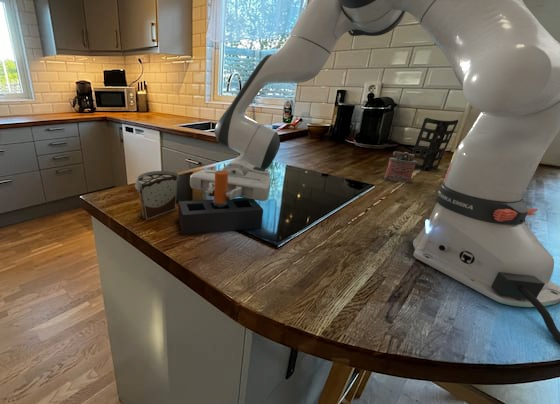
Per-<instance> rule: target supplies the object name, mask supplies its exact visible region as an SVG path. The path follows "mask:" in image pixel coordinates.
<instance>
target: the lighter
mask: <svg viewBox="0 0 560 404" xmlns="http://www.w3.org/2000/svg"><path fill="white" fill-rule="evenodd" d="M393 156H396V157H393ZM416 163H418V161H417V160H415V158H414V154H412V153H409V152H407V151H405V152H401V151H393V154H392V157H389V158H388V164H387V168H386V171H385V175H384V177H383V178H384V179H385V180H389V181H395V182H399V183H411V182H412V177H413V173H414V171H415V168H416V167H415V164H416Z"/></svg>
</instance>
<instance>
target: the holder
mask: <svg viewBox="0 0 560 404" xmlns="http://www.w3.org/2000/svg"><path fill="white" fill-rule="evenodd" d="M458 123H459V119H454V120H441V119H434V118H430V117H425V118H424V119H423V122H422V125H421V127H420V130H419V133H418V136H417V137H416V138H417V139H416V141H415V144H414V147H413V149H412V152H411V154H414V158H413V159H419V160H422V162H421V163H420V162H417V163H416V164H415V167H414V168H416V169H421V171H428V172H429V171H431V170H436V169H439V165H440V163H441V161H442V159H443V156H444V154H445V151H446V149H447V147H448V145H449V144H450V140H452V139H451V138H452V136H453V134H454V132H455V130H456V127H457V125H458ZM427 124H432V125H435V128H434V129H431V128H426V127H427ZM449 126H453V127H452V129H451V130H448V128H449ZM424 133H426V135H425V137H423V134H424ZM431 134H432V136H431ZM430 137H431V138H430ZM421 141H422V142H424V143H429V144H428V146H427V147H425V146H421V145H420V143H421ZM443 144H445V145H444V146H443V147H442V148H441V146H442V145H443ZM417 150H419V154H416V153H417ZM424 153H425V155H424ZM436 161H437V163H436V164H434V163H435V162H436Z"/></svg>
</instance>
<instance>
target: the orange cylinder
mask: <svg viewBox="0 0 560 404" xmlns="http://www.w3.org/2000/svg"><path fill="white" fill-rule="evenodd" d="M214 171H215V183H214V197H213V200H214V208H213V209H226V202H227V199H225V197H226V192H227V185H228V172H227V171H223V170H222V169H219V170H214Z"/></svg>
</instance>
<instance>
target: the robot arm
mask: <svg viewBox="0 0 560 404" xmlns="http://www.w3.org/2000/svg"><path fill="white" fill-rule="evenodd" d="M307 3H308V4H306V6H305V7H304V9H303V10H302V12H301V14H300V15H299V17H298V18H297V20H296V22H295V23H294V25H293V27H292V29H291V31H290V32H289V35H288V37H287V39H286V41H285V42H284V44H283V45H282V46H281V47H280V48H278V50H277V51H275V52H274V53H273V54H272V53H271V54H267V55H265V56H264V57H263V58H262V59H261V60H260V61H259V63H258V64H257V65H256V66H255V68H254V69H253V71H252V73H250V75H249V77H248V78H247V79H246V81H245V83H244V84H243V86H242V87H241V89H240V90H239V91H238V93H237V95H236V96H235V97H234V99H233V100H232V102H231V104H230V105H229V107H227V109H226V110H225V111H224V112H223V114H222V115H221V117H220V118H219V119H218V120H217V123H216V125H215V127H214V131H213V133H214V136H215V139H216V141H217V143H218V144H219V145H221V146H223V147H225V148H228V149H231V150H233V151H235V152H236V153H238V154H239V155H238V156H236V157H235V158H234V159H232V160H231V161H230V162H229V163H227V164H225V166H223V168H222V169H221V170H223V171H227V172H228V185H227V192H226V197H225V199H229V200H232V199H233V198H248V199H254V200H255V201H260V202H265V201H268V199H269V195H270V190H271V189H270V188H271V172H270V171H269V170H268V168H269V167H270V166H271V164H272V163H273V162H274V160H275V158H276V156H277V154H278V152H279V150H280V146H281V139H280V136H279V133H278V131H276V130H275V129H272V128H270V127H268V126H266V125H264V124H261V123H260V122H258V121H256V120H254V119H252V118H249V117H248V116H246V114H245V113H246V111H247V110H248V108H249V107H250V105H251V104H252V103H253V101H254V100H255V98H256V97H257V95H258V94H259V92H260V91H261V90H262V89H263V88H264V87H266V86H268V85H272V84H301V83H306V82H308V81H310V80H312V79H314V78H316V77H317V76H318V75H319V73H320V72H321V70H322V69H323V67H324V66H325V65H326V64H327V62H328V60H329V58H330V56H331V55H332V52H333V51H334V49H335V47H336V45H337V43H338V41H339V40H340V39H341V37H343V35H344V34H346V33H348V34H349V35H350V36H351V37H358V36H359V37H360V36H364V37H365V36H366V37H367V36H368V37H378V36H382V35H385V34H388V33H390V32H391V31H393V30H394V29H395V28H396V27H397V26H398V25H399V24H400V23H401V22H402V20H403V19H404V16H405V15H406V13H408V14H410V15H411V16H413V17H414V19H415V20H416V21H417V23H418V24H419V25H420V26H421V28H422V29H423V30H424V31H425V33H426V34H427V35H428V36H429V37H430V39H431V40H432V41H433V42H434V44H435V45H436V46H437V47H438V48H439V49H440V51H441V52H442V54H444V56H445V58H446V59H447V61H448V63H449V65H450V67H451V68H452V71H453V73H454V75H455V77H456V79H457V81H458V83H459V85H460V86H461V87H462V93H463V96H464V99H465V100H466V102H467V104H469V105H470V106H471V107H472V108H473V109H475V110H476V111H479V112H480V113H479V115H478V116H477V117H476V119H475V121H474V123H473V125H472V127H471V128H470V129H469V131H468V132H467V134H466V135H465V136H464V138H463V139H462V140H461V142H459V144H458V146H457V148H456V149H457V151H456V154H455V157H454V159H453V162H452V165H451V167H450V170H449V173H448V175H447V178H446V181H445V182H444V181H443V182H444V183H443V182H442V183H441V185H440V187H439V189H438V192H437V193H436V197H435V205H434V208H433V210H432V211H431V214H430V216H429V217H428V219H425V225H424V226H423V228H422V229H421V230H420V232H419V233H418V234H417V236H415V238H414V239H413V241H412V246H413V248H414V251H413V254H412V256H413V257H414V258H415V259H416V260H419V261H420V262H422V263H424V264H426V265H427V266H429V267H432V268H433V269H435V270H436V271H439V272H441V273H443V274H444V275H446V276H448V277H450V278H452V279H454V280H456V281H458V282H459V283H461V284H464V285H465V286H467V287H468V288H470V289H473V290H474V291H476V292H478V293H479V294H481V295H484V296H485V297H487V298H489V299H491V300H492V301H495V302H496V303H500V304H503V305H507V306H511V307H520V308H535V309H536V310H537V312H538V313H539V314H540V316H541V318H542V319H543V322H544V324H545V326H546V328H547V330H548V332H549V333H550V334H551V336H552V337H553V338H554V340H556V342H558V343H559V344H560V330H559V329H558V327H557V326H556V324H555V321H554V319H553V317H552V315H551V313H550V312H549V311H548V310H547V308H546V307H548V306H552V305H556V304H558V303H560V285H558V284H556V283H555V282H553V281H551V279H552V276H553V273H554V268H555V260H554V257H553V255H552V254H551V253H550V252H549V250H547V249H546V247H545V246H544V245H543V244H542V243H541V241H539V239H538V238H537V237H536V235H535V234H534V233H533V232H532V231H531V230H530V228H529V227H528V226H527V225H526V223H525V222H526V218H527V216H534V215H536V213H535V212H537V211H538V210H539V209H538V208H527V207H526V205H525V199H524V198H523V197H524V195H525V193H526V191H527V189H528V187H529V185H530V182H531V181H532V179H533V177H534V175H535V173H536V170H537V169H538V167H539V164H540V162H541V160H542V158H543V157H544V155H545V153H546V151H547V150H548V149H549V147H550V145H551V144H552V142H553V141H554V139H555V138H556V136H557V134H558V133H559V132H560V42H559V41H558V40H557V39H555V38H554V37H553V36H552V35H551V34H550V33H549V31H547V29H546V28H545V27H544V25H542V24H541V23H540V22H539V20H538V19H537V17H536V16H534V14H533V13H532V11H530V9H529V8H528V6H527V5H526V4H525V2H524V1H523V0H309V1H308V2H307ZM215 171H216V170H213V169H200V170H198V171H196V172H195V171H194V172H193V173H191V175H190V177H189V186H190V188H191V189H192V190H197V191H203V192H206V196H207V197H213V198H214V183H215Z"/></svg>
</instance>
